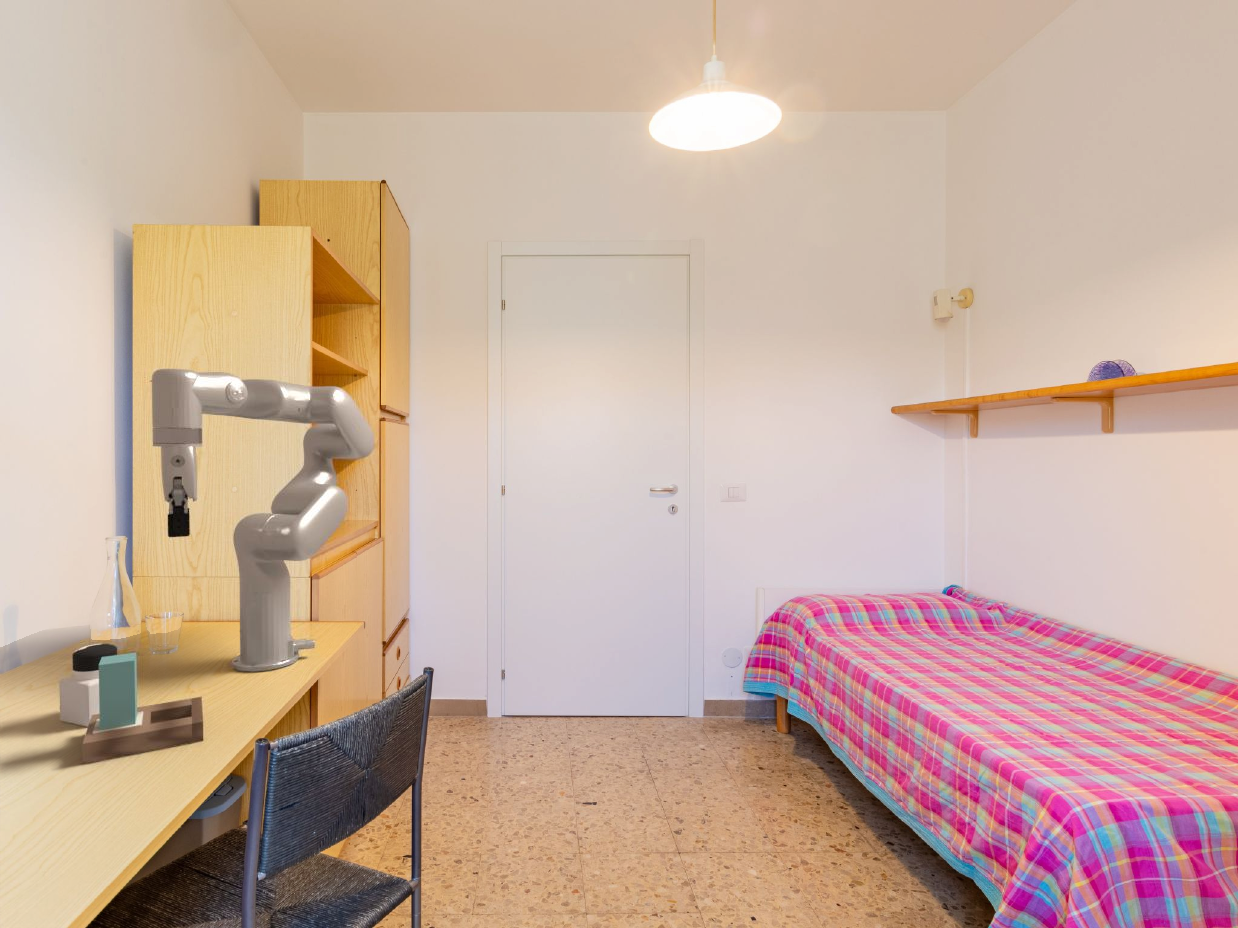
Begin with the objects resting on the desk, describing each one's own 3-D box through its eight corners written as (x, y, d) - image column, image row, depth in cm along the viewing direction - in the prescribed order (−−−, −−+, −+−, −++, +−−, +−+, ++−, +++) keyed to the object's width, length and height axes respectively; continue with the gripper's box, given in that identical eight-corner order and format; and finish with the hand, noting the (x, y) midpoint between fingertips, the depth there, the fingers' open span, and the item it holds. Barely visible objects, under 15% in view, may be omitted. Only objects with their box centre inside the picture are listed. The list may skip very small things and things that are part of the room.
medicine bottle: (132, 711, 118) (131, 643, 117) (88, 727, 111) (87, 655, 110) (103, 705, 120) (102, 638, 120) (59, 721, 113) (57, 650, 113)
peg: (137, 713, 109) (136, 652, 108) (135, 723, 105) (134, 660, 105) (103, 719, 106) (101, 656, 106) (99, 730, 103) (98, 665, 102)
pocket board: (201, 713, 117) (201, 695, 117) (203, 740, 107) (203, 720, 107) (92, 733, 109) (91, 713, 109) (82, 764, 99) (82, 742, 99)
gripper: (203, 439, 117) (204, 537, 117) (201, 438, 131) (202, 526, 132) (150, 438, 113) (152, 541, 113) (154, 437, 127) (155, 528, 128)
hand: (179, 533), depth 123 cm, fingers open, 9 cm apart
